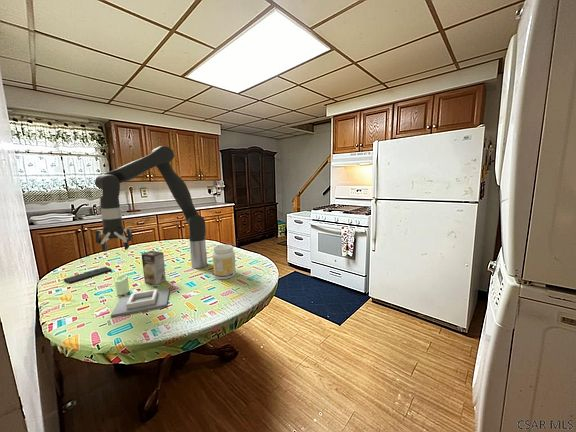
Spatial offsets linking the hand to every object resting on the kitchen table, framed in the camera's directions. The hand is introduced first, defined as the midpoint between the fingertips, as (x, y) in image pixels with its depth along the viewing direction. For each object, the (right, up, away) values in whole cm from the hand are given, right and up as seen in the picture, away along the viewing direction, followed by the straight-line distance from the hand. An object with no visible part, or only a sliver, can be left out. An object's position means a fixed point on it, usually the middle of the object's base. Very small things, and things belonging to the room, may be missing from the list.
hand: (116, 250), depth 112 cm
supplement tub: (+47, -18, +20) cm, 54 cm away
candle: (+2, -21, +2) cm, 22 cm away
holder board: (+18, -22, -8) cm, 30 cm away
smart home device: (-33, -19, +23) cm, 44 cm away
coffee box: (+11, -19, +14) cm, 26 cm away
